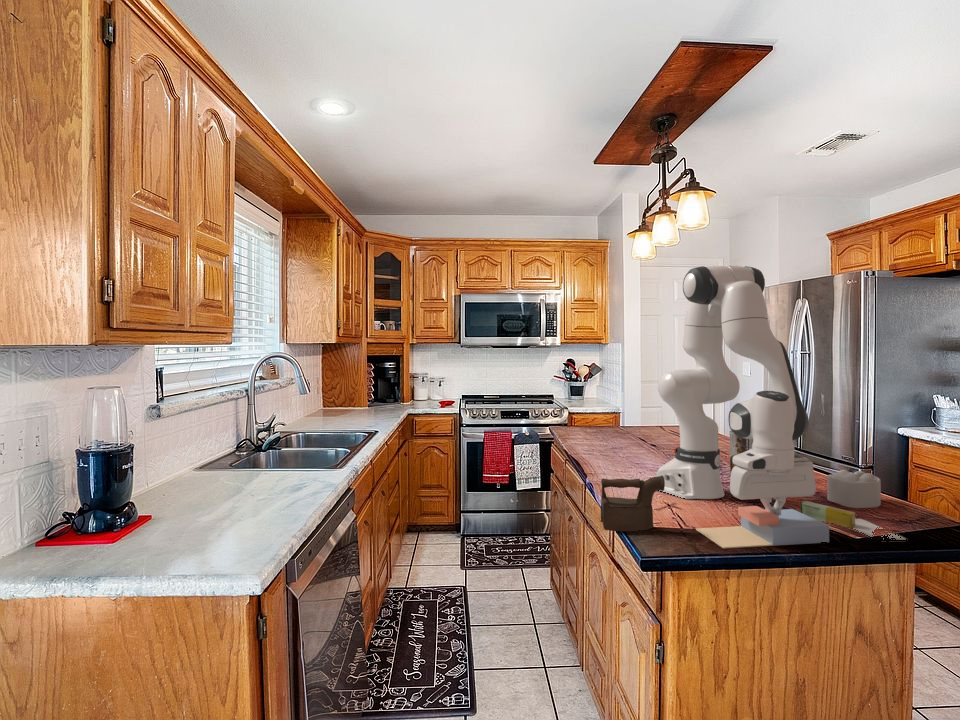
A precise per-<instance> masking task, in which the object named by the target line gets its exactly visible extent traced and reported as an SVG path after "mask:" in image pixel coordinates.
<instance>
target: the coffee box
mask: <svg viewBox="0 0 960 720" xmlns="http://www.w3.org/2000/svg"><path fill="white" fill-rule="evenodd" d="M752 444H753V439H745V438H741V437H738V436H737V435H735V434H734V433H733V432H732V430H729V466H730V468H729V470H730V474H731V471H732V469H733V467H735V466H737V465H735V464H733V461H732V459H733V457H734V456H735V455H738V454H741V453H743V452H746V451H748V450H750V449H752Z"/></svg>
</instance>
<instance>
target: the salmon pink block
mask: <svg viewBox="0 0 960 720" xmlns="http://www.w3.org/2000/svg"><path fill="white" fill-rule="evenodd" d="M737 516H739V517H740V518H741V517H743V518H745V519H747V520H749V521H750V522H752V523H754V524H756V525H758V526H769V525H779V516H777V515H775V514H773V513H771V512H769V511H767V510H765V508H762V507H760V506H758V505H748V506H737Z"/></svg>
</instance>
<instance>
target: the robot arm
mask: <svg viewBox="0 0 960 720" xmlns="http://www.w3.org/2000/svg"><path fill="white" fill-rule="evenodd" d="M765 286H766V281H765V275H764V274H763V272H762V271H761V270H760V269H759V268H756V267H752V266H746V265H745V266H741V265H731V264H730V265H725V264H723V265H716V266H715V265H714V266H703V265H702V266H697V267H693V268H691V269H689V270H688V271H687V272H686V274H685V276H684V277H683V282H682V292H683V295H684V297H685V298H686V299H687V301H688V302H687V307H686V311H685V312H686V313H685V318H684V325H683V327H684V328H683V338H682V339H683V340H682V347H683V351H685V353H686V354H687V355H689V356H690V357H692V358H693V359H694V361H695V366H696V367H695V368H693V369H677V370H673V371H669V372H665V373H663V374H662V375H661V377H660V378H659V381H658V384H657V390H658V394H659V397H660V398H661V399H662V400H663V402H665V403H666V404H667V405H668V406H669V407H671V409H672V411H673V412H674V414H675V416H676V418H677V422H678V429H679V446H678V447H676V448H675V449H673V450H672V452H671V453H672V454H675V455H674V458H672V459H670V460H669V461H668V462H666V463H664V464H663V465H661V466H660V467H659V468H658V470H657V472H656V476H655V477H657V476H663V477H664V480H665V487H664V491H663V492H666V493H665V494H667V493H669V494H668V495H670V494H672V495H671V496H673V495H675V496H674V497H677V496H678V497H677V498H680V497H681V499H683V498H685V499H684V500H696V499H697V500H698V499H699V500H714V499H720V498H723V497H725V495H726V494H725V491H724V489H723V484H722V480H721V479H722V478H721V471H720V470H721V469H720V468H721V449H720V448H719V426H718V423H717V422H716V421H715V420H714V419H712V418H711V417H709V416H708V415H706V413H705V411H704V408H703V406H704V405H710V404H711V405H712V404H713V405H714V404H716V405H717V404H722V403H726V402H730V401H732V400H735V398H736V397H738V394H739V392H740V386H741V385H740V381H739V379H738V376H737V375H736V374H735V373H734V372H733V371H732V370H731V369H730V368H729V366H728V365H727V363H726V361H725V358H724V357H725V356H724V351H723V350H724V349H723V344H724V345H726V347H728V349H730V351H732V352H734V353H735V354H737V355H740V356H741V357H744V358H747V359H750V360H753V361H755V362H757V363H759V364H761V365H762V366H764V368H765V369H766V370H767V371H768V373H769V378H770V380H771V381H770V382H771V384H772V388H773V390H760V391H757V392H756V393H754V394H753V397H752V398H750V399H748V400H745V401H742V402H737V403H735V404H734V405H733V406H732V408H730V411H728V426H729V429H730V431H732V432H733V433H734V434H735V435H737V436H738V437H741V438H745V439H753V444H752V449H750V450H748V451H746V452H743V453H741V454H738V455H735V456H734V457H733V459H732V461H733V464H735V465H737V466H735V467H733V469H732V471H731V476H730V479H729V492H730V494H731V495H732V496H733V497H734V498H736V499H739V500H757V499H758V500H759V499H760V502H761V503H762V505H763V506H764V510H767V511H769V512H771V513H773V514H775V515H777V516H779V515H781V510H783V507H784V505H785V504H786V503H787V502H786V501H787V500H786V499H787V498H799V497H802V498H803V497H813V496H814V495H815V494H816V491H817V488H816V486H817V485H816V479H815V478H816V477H815V473H814V463H813V461H812V460H811V459H810V458H808V457H805V456H803V457H795V444H794V441H796V440H798V439H799V438H801V437H802V436H803V435H804V433H805V432H806V431H807V430H808V428H809V425H810V424H809V423H810V422H809V421H810V420H809V417H808V413H807V410H806V408H805V406H804V404H803V403H802V400H801V397H800V393H799V389H798V386H797V383H796V379H795V376H794V372H793V368H792V365H791V360H790V357H789V355H788V352H787V350H786V347H785V344H783V343H782V342H781V341H779V340H778V339H777V338H776V337H775V336H774V333H773V331H772V329H771V327H770V322H769V315H768V309H767V303H766V300H765V296H764V290H765ZM723 342H724V343H723ZM660 491H661V490H659V491H658V492H660ZM663 492H662V493H663ZM773 499H774V500H775V502H774V504H773V506H772V505H771V504H770V503H773V502H772V501H773Z"/></svg>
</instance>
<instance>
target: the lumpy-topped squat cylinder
mask: <svg viewBox="0 0 960 720" xmlns="http://www.w3.org/2000/svg"><path fill="white" fill-rule="evenodd" d="M826 482H827V484H826V485H827V486H826V487H827V490H826V491H827V492H826V493H827V494H826V496H827V500H828V501H829V502H833V503H836V504H838V505H840V506H843V507H846V508H847V507H848V508H853V509H867V508H871V509H872V508H878V507H880V506H881V505H882V503H881V502H882V500H881V499H882V496H881V495H882V494H881V493H882V490H881V489H882V487H881V486H882V483H881V482H882V481H881V478H879V477H878V476H876V475H874V474H872V473H870V472H864V471H863V470H857V471H854V472H850V471H849V470H847V469H840V470H839V471H838V472H835V473H832V474H828V475H827V481H826Z"/></svg>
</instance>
